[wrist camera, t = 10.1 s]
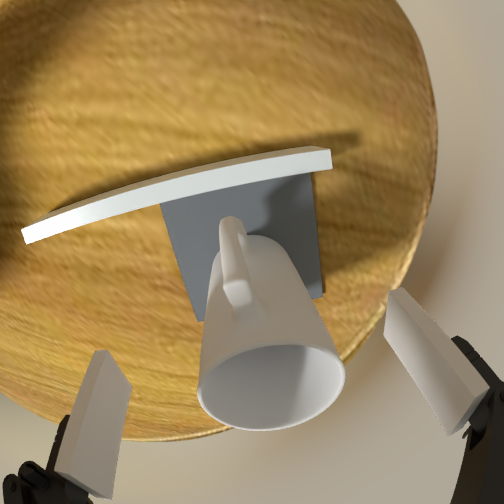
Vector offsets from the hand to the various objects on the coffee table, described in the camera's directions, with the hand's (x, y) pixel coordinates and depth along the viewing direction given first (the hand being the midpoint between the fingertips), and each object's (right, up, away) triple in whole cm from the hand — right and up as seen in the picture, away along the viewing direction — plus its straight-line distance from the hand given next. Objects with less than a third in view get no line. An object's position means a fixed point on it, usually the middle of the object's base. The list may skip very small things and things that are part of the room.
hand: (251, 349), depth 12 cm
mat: (0, +4, +10) cm, 11 cm away
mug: (0, +4, +10) cm, 11 cm away
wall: (-6, +9, +8) cm, 13 cm away
